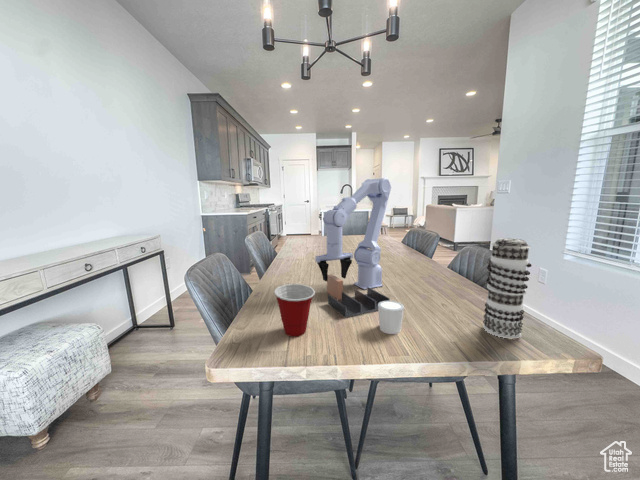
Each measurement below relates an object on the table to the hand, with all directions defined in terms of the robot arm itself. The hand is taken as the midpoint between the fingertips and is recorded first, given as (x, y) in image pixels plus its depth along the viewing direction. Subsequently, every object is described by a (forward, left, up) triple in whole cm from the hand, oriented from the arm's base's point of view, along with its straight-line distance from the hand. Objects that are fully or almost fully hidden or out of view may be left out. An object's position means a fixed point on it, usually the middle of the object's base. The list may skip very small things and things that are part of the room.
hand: (334, 279), depth 95 cm
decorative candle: (-28, +43, -7) cm, 52 cm away
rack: (-3, +12, -6) cm, 14 cm away
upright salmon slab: (0, 0, -7) cm, 7 cm away
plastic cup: (+22, +19, -7) cm, 30 cm away
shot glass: (-2, +29, -7) cm, 30 cm away
